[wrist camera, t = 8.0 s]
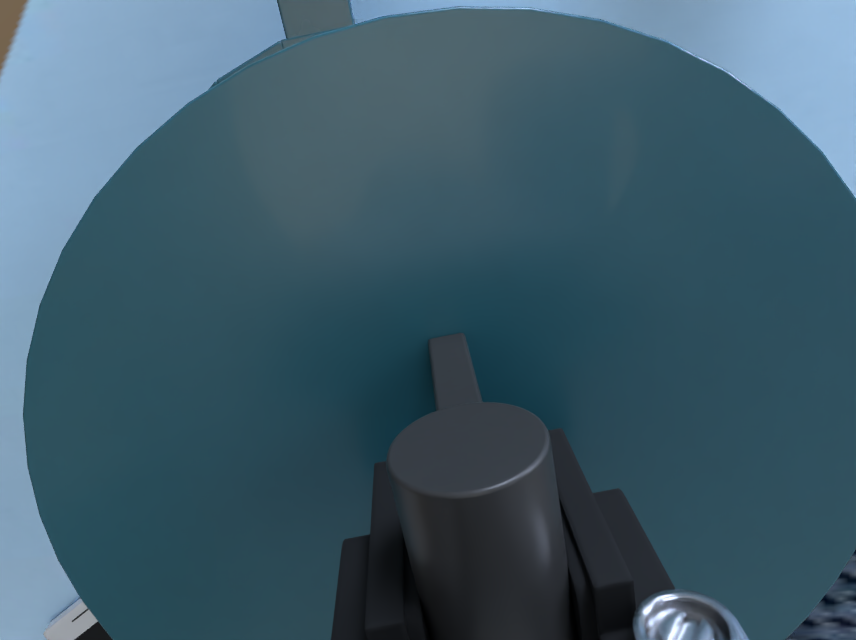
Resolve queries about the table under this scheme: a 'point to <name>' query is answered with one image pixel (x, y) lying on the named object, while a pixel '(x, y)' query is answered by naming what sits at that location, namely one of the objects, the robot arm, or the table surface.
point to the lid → (450, 335)
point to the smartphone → (76, 625)
